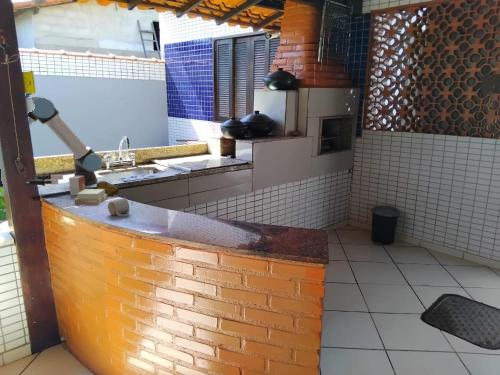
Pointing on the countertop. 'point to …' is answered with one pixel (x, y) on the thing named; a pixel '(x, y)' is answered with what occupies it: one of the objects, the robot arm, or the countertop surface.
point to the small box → (76, 184)
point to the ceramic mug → (119, 207)
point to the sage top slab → (91, 194)
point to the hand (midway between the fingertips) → (60, 179)
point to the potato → (107, 188)
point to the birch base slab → (90, 200)
